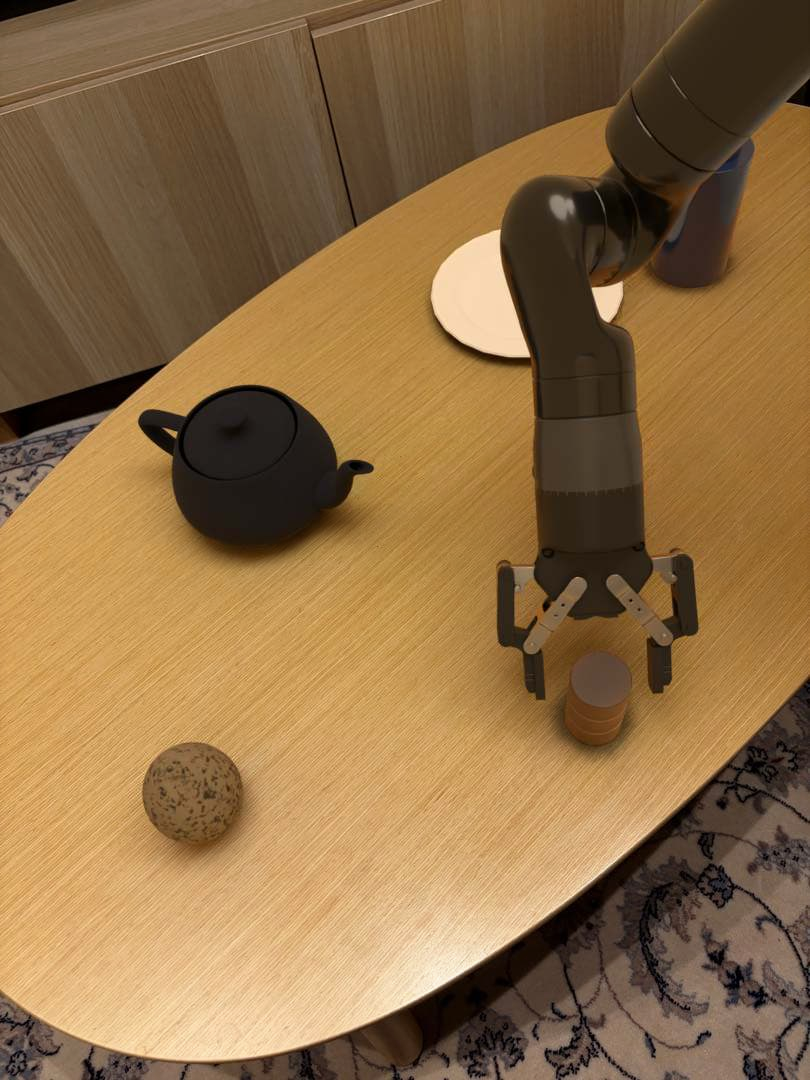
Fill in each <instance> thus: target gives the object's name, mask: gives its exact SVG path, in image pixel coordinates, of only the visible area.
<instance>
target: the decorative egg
mask: <svg viewBox="0 0 810 1080" xmlns="http://www.w3.org/2000/svg"><path fill="white" fill-rule="evenodd" d="M142 781H143V782H142V789H141V796H142V804H143V808H144V812H145V813H146V815H147V817H148V819H149V821H150V822H151V824H152V825H153V826H154V828H155V829H156V830H157V831H158V832H159V833H161V834H162V835H163V836H165V837H167V838H168V839H169V840H170V839H171V840H173V841H174V842H177V843H181V844H189V845H191V844H193V845H194V844H195V845H197V844H203V843H207V842H209V841H212V840H215V839H217V838H218V837H219V836H221V835H222V834H224V833H225V832H226V831H228V830H229V828H230V827H231V826H232V825H233V824H234V822H235V821H236V819H237V817H238V816H239V813H240V811H241V809H242V804H243V801H244V785H243V784H244V783H243V778H242V776H241V773H240V771H239V769H238V767H237V765H236V763H234V761H233V760H232V759H231V758H230V756H229V755H228V754H226V752H224V751H222V750H221V749H220V748H218V747H215V746H213V745H211V744H208V743H206V742H205V743H204V742H197V741H195V742H194V741H190V742H189V741H188V742H183V743H179V744H174V745H172V746H170V747H168V748H166V749H164V750H163V751H162V752H161V753H160V754H158V755H157V756H156V757H155V758H154V760H152V761H151V763H150V765H149V767H148V768H147V770H146V772H145V775H144V778H143V780H142Z"/></svg>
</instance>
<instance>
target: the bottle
mask: <svg viewBox="0 0 810 1080" xmlns="http://www.w3.org/2000/svg"><path fill="white" fill-rule="evenodd" d="M755 150H756V146H755V143H754V141H753V139H752V137H750V138H749V139H748V140H747V141H746V142H745V143H744V144H743V145H742V146H741V147H740V148H739V149H738V150H737V151H736V152H735V153H734V154H733V155H732V156H731V157H730V158H729V159H728V160H727V161H726V162H725V163H724V164H723V165H722V166H721V167H720V168H718V170H716V171H715V172H714V173H713V174H712V175H711V176H710V177H709V178H708V179H707V180H705V181H704V182H703V183H702V184H701V185H700V186H699V188H698V190H697V191H696V193H695V195H694V196H693V198H692V200H691V202H690V204H689V205H688V207H687V209H686V210H685V212H684V213H683V215H682V216H681V218H680V219H679V221H678V222H677V224H676V225H675V227H674V228H673V230H672V231H671V233H670V234H669V236H668V237H667V239H666V240H665V242H664V243H663V244H662V246H661V247H660V249H659V250H658V251H657V253H656V254H655V255H654V256H653V257H652V258H651V259H650V265H651V269H652V271H653V273H654V274H655V275H656V276H657V277H658V278H659V279H660V280H662V281H663V282H665V283H667V284H669V285H672V286H675V287H678V288H689V289H691V288H699V287H704V286H708V285H710V284H713V283H714V282H716V281H717V280H718V279H720V277H722V275H723V274H724V273H725V271H726V267H727V264H728V260H729V255H730V252H731V247H732V244H733V240H734V236H735V233H736V232H735V230H736V227H737V224H738V219H739V216H740V211H741V209H742V208H741V207H742V203H743V199H744V196H745V195H744V194H745V191H746V187H747V184H748V183H747V182H748V179H749V175H750V171H751V167H752V163H753V159H754V155H755V152H756V151H755Z"/></svg>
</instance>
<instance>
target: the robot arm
mask: <svg viewBox="0 0 810 1080" xmlns="http://www.w3.org/2000/svg"><path fill="white" fill-rule="evenodd" d="M809 79H810V0H702V1H701V3H700V4H699V5H698V6H697V7H696V8H695V9H694V10H693V11H692V12H691V13H690V14H689V15H688V17H687V18H686V19H685V20H684V21H683V22H682V24H681V25H680V26H679V27H678V28H677V29H676V31H675V32H674V33H673V34H672V35H671V37H670V38H668V40H667V42H666V43H664V45H663V46H662V47H661V48H660V49H659V51H658V52H657V53H656V54H655V56H654V57H653V58H652V59H651V60H650V62H649V63H648V64H647V65H646V67H645V68H643V70H642V71H641V73H640V74H639V75H638V76H637V78H635V80H634V82H633V83H631V85H630V86H629V87H628V88H627V90H626V91H625V92H624V93H623V95H622V96H621V97H620V99H619V100H618V101H617V103H616V104H615V106H614V107H613V109H612V111H611V112H610V115H609V116H608V119H607V122H606V124H605V131H604V135H605V136H604V138H605V140H604V141H605V145H606V150H607V151H608V154H609V156H610V159H611V160H612V163H611V164H610V166H609V167H608V168H607V169H605V171H603V172H602V173H601V174H600V175H599V176H596V177H591V176H576V175H563V174H544V175H537V176H535V177H532V178H530V179H527V181H525V182H523V184H521V185H520V186H519V187H518V188H517V189H516V191H515V192H514V193H513V194H512V196H511V197H510V199H509V201H508V203H507V206H506V208H505V210H504V214H503V217H502V221H501V225H500V229H501V232H500V256H501V263H502V268H503V272H504V276H505V280H506V283H507V286H508V289H509V292H510V296H511V299H512V302H513V305H514V308H515V311H516V315H517V318H518V321H519V325H520V328H521V331H522V334H523V337H524V340H525V342H526V345H527V348H528V351H529V354H530V358H529V359H530V364H531V378H532V380H531V382H532V399H533V400H532V401H533V415H534V418H533V423H534V425H533V426H534V427H533V439H532V464H533V465H532V469H531V474H532V478H533V482H534V483H533V484H534V498H535V499H534V500H535V516H536V534H537V550H538V551H537V554H536V555H537V556H536V558H535V560H534V563H512V562H511V561H510V560H508V559H502V560H500V561H499V562H497V564H496V568H495V571H496V576H495V578H496V579H495V580H496V581H495V582H496V587H495V588H496V636H497V642H498V644H499V645H500V646H501V647H503V648H514V649H517V650H519V651H520V652H521V653H522V662H523V663H522V665H523V681H524V686H525V689H526V690H527V693H528V694H534V697H535V700H536V701H546V683H545V680H546V679H545V666H544V665H545V664H544V653H543V649H542V647H543V645H544V644H545V643H546V642H547V640H548V638H549V637H550V636H551V634H552V633H554V632H556V630H557V629H558V628H559V626H560V625H561V624H562V622H563V620H564V619H565V618H566V617H569V618H571V619H573V620H574V621H586V620H590V619H592V618H594V617H598V618H604V619H617V618H619V615H621V614H623V613H625V612H626V611H628V612H629V613H630V614H631V616H632V617H633V618H634V619H635V620H636V621H637V622H638V624H639V625H641V626H642V627H643V629H644V630H645V631H646V632H647V633H648V634H649V637H646V658H647V659H646V662H647V664H646V665H647V666H646V667H647V684H648V687H649V690H650V691H651V694H653V695H661V694H664V690H665V689H664V687H665V686H670V685H671V683H672V681H673V672H672V671H673V667H672V666H673V664H672V663H673V660H672V646H673V643H674V642H675V641H677V640H678V639H681V638H682V637H693V636H695V635H696V634H697V633H698V632H699V628H700V626H699V617H698V616H699V615H698V604H697V594H696V592H697V591H696V579H695V568H694V560H693V559H692V557H690V556H689V554H687V553H686V551H684V549H681V548H680V547H674V548H671V549H670V550H669V551H668V553H661V554H660V553H659V554H651V555H650V554H649V553H648V550H647V546H646V525H645V524H646V523H645V491H644V489H645V488H644V461H643V460H644V459H643V443H642V442H643V441H642V434H641V428H640V423H639V414H638V410H637V409H638V391H637V390H638V389H637V371H636V370H637V366H636V365H637V364H636V353H635V351H636V350H635V345H634V339H633V337H632V335H631V333H630V331H628V330H627V329H626V328H625V327H623V326H620V325H618V324H615V323H612V322H610V323H608V322H606V321H605V320H603V319H602V318H601V316H600V314H599V311H598V308H597V305H596V302H595V298H594V295H593V292H592V288H599V287H607V286H611V285H614V284H617V283H619V282H621V281H623V282H624V281H625V280H626V279H628V278H630V277H632V276H633V275H634V274H635V273H637V272H639V271H640V270H641V269H642V268H643V267H645V265H647V263H648V262H650V261H651V258H652V257H653V256H654V255H655V254H656V253H657V251H658V250H659V249H660V247H661V246H662V244H663V243H664V242H665V240H666V239H667V237H668V236H669V234H670V233H671V231H672V230H673V228H674V227H675V225H676V224H677V222H678V221H679V219H680V218H681V216H682V215H683V213H684V212H685V210H686V209H687V207H688V205H689V204H690V202H691V200H692V198H693V196H694V195H695V193H696V191H697V190H698V188H699V186H700V185H701V184H702V183H703V182H704V181H705V180H707V179H708V178H709V177H710V176H711V175H712V174H713V173H714V172H715V171H716V170H718V168H720V167H721V166H722V165H723V164H724V163H725V162H726V161H727V160H728V159H729V158H730V157H731V156H732V155H733V154H734V153H735V152H736V151H737V150H738V149H739V148H740V147H741V146H742V145H743V144H744V143H745V142H746V141H747V140H748V139H749V138H752V136H754V134H755V133H757V131H759V129H760V128H761V127H762V126H764V124H765V123H766V122H767V121H769V120H770V118H771V117H772V116H773V115H774V114H775V113H776V112H777V111H778V110H779V109H780V108H781V107H782V106H783V105H784V104H785V103H786V102H787V101H788V100H789V99H790V98H791V97H792V96H793V95H794V94H795V93H796V92H797V91H799V89H800V88H801V87H802V86H804V84H806V83H807V81H809ZM654 572H658V573H659V575H660V577H661V579H662V580H663V581H664V582H665V583H666V584H668V585H670V586H669V587H670V597H671V606H672V615H671V616H668V617H666V618H664V619H661V617H660V616H659V615H658V614H657V613H656V612H655V611H654V609H653V608H651V606H650V604H648V602H647V601H646V600H645V599H644V598H643V597H642V595H640V592H641V591H642V590H643V588H644V586H645V585H646V584H647V582H648V581H649V579H650V578H651V576H652V575H653V573H654ZM531 580H534V581H535V583H536V585H538V586H539V587H540V589H541V590H542V591H543V593H545V596H544V597H543V599H542V600H541V601H540V603H539V604H538V606H537V607H536V609H535V612H534V614H533V616H532V617H531V618H530V620H529V621H528V623H527V624H526V625H525V627H520V626H517V625H516V620H515V619H516V617H515V616H516V615H515V614H516V613H515V612H516V611H515V608H516V605H515V604H516V602H515V599H516V597H515V596H516V595H521V594H522V593H524V591H525V589H526V585H527V583H528V582H529V581H531Z"/></svg>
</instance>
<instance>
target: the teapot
mask: <svg viewBox="0 0 810 1080" xmlns="http://www.w3.org/2000/svg"><path fill="white" fill-rule="evenodd" d="M137 424H138V427H139V429H140V430H141V432H142V433H143V434H144V435H145V436H146V437H147V438H148V439H149V440H150V441H151V442H152V443H153V444H154V445H156V446H157V447H159V448H160V449H161V450H162V451H164V452H165V453H167V454H168V455H170V456H171V457H172V461H171V484H172V490H173V495H174V498H175V502H176V504H177V506H178V508H179V510H180V512H181V514H182V516H183V517H184V518H185V520H186V521H187V522H188V524H189V525H190V526H191V527H192V528H193V529H195V530H196V532H199V533H200V534H201V535H203V536H204V537H206V538H208V539H210V540H212V541H214V542H217V543H220V544H223V545H227V546H233V547H240V548H241V547H242V548H253V547H263V546H267V545H271V544H272V545H273V544H276V543H279V542H281V541H283V540H286V539H288V538H290V537H293V536H294V535H295V534H298V533H299V532H301V531H302V530H304V529H305V528H307V526H309V525H310V524H311V523H312V522H313V521H314V520H315V519H316V518H317V517H319V515H320V514H321V512H322V511H325V510H326V511H327V510H332V509H335V508H337V507H339V506H341V505H342V504H343V503H344V502H345V501H346V500H347V499H348V496H349V495H350V493H351V491H352V489H353V485H354V477H356V476H359V475H368V474H371V473H373V472H374V471H375V467H374V465H373V464H371V463H370V462H368V461H366V460H362V459H348V460H345V461H343V462H342V463H341V464H340V465H339V466H338V457H337V452H336V448H335V446H334V444H333V441H332V439H331V437H330V435H329V433H328V432H327V430H326V429H325V427H324V426H323V424H321V422H320V421H319V420H318V419H317V418H316V417H315V416H314V415H313V414H312V413H311V412H310V411H309V410H308V409H307V408H305V407H304V405H301V404H300V403H299V402H298V401H297V400H295V399H293V398H292V397H291V396H289V395H288V394H286V393H284V392H283V391H281V390H279V389H277V388H274V387H270V386H267V385H261V384H240V385H233V386H230V387H226V388H223V389H220V390H218V391H215V392H214V393H212V394H210V395H208V396H207V397H204V398H203V399H202V400H201V401H199V402H198V403H197V404H196V405H194V407H192V408H191V409H190V411H189V412H188V413H187V414H186V415H182V414H178V413H174V412H170V411H167V410H162V409H157V408H156V409H155V408H149V409H146V410H144V411H142V412H141V413H140V414H139V416H138V418H137ZM167 430H169V431H173V432H177V433H176V435H175V437H174V436H173V435H172V434H171V433H169V432H168V431H167Z"/></svg>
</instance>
